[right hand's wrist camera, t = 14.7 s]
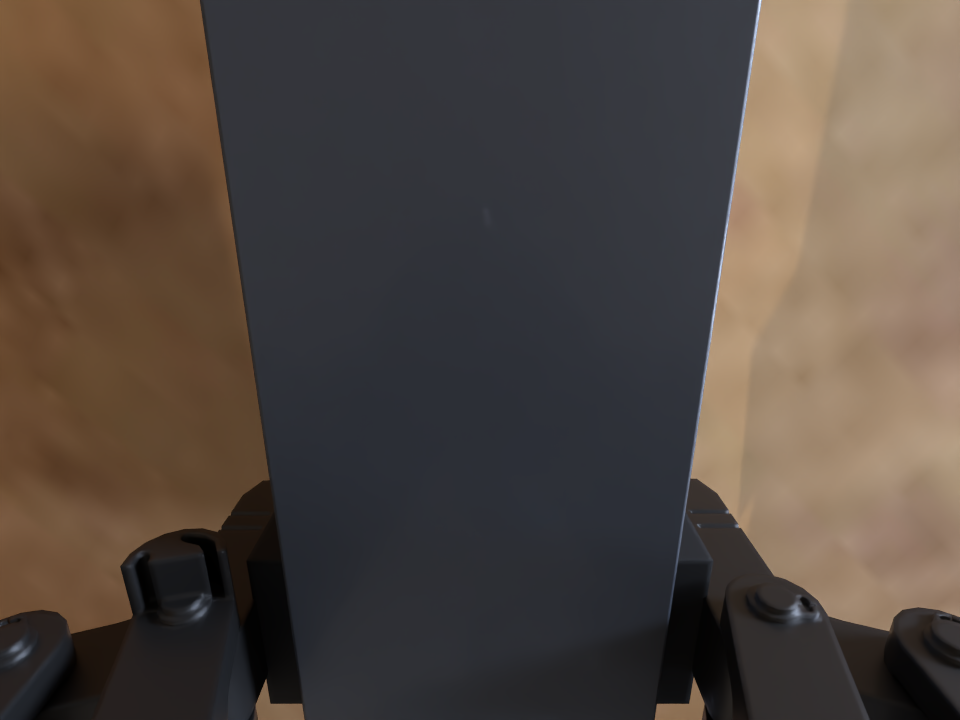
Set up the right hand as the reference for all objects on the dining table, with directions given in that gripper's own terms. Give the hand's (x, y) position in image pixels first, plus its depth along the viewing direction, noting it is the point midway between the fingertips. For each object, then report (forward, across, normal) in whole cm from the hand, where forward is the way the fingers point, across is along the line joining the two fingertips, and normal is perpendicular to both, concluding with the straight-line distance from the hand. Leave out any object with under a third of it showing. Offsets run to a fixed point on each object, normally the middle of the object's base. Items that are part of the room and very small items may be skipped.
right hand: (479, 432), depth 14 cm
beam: (0, 0, -11) cm, 11 cm away
